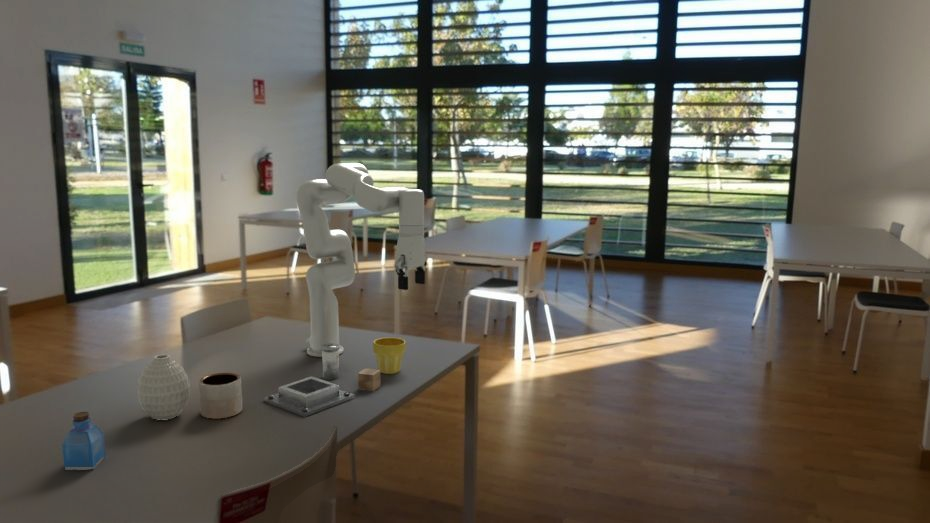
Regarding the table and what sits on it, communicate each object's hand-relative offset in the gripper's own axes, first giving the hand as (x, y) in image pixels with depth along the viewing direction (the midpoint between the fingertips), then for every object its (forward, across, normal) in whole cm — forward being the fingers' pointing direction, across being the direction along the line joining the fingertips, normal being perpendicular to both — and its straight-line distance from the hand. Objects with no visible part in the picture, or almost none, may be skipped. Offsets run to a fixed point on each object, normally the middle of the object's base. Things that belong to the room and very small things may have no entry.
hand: (411, 286), depth 211 cm
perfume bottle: (+30, +84, -35) cm, 96 cm away
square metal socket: (+30, +29, -17) cm, 44 cm away
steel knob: (+30, +10, -24) cm, 39 cm away
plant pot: (+30, -4, -11) cm, 32 cm away
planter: (+30, +47, -32) cm, 64 cm away
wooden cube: (+30, +12, -8) cm, 33 cm away
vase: (+30, +56, -42) cm, 77 cm away
